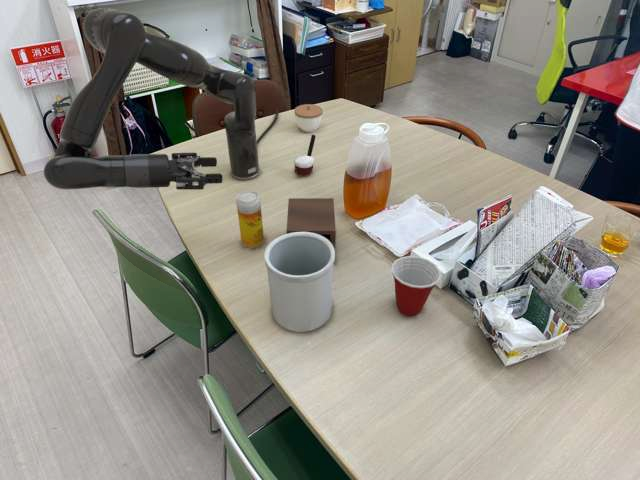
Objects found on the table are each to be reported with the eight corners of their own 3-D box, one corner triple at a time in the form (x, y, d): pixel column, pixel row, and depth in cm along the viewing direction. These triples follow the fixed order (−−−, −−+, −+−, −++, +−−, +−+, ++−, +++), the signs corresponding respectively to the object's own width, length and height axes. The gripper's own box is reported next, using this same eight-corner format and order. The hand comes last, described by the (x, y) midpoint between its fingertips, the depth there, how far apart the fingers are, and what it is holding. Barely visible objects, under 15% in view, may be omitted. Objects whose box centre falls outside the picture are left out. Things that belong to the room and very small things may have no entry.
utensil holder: (257, 304, 108) (251, 247, 97) (309, 278, 115) (308, 222, 104) (292, 345, 99) (289, 288, 88) (346, 314, 106) (349, 257, 95)
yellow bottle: (260, 250, 123) (255, 204, 114) (238, 247, 124) (232, 201, 115) (266, 236, 128) (262, 191, 118) (245, 233, 129) (240, 188, 119)
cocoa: (296, 181, 150) (295, 147, 142) (288, 172, 154) (287, 139, 147) (322, 173, 154) (322, 141, 146) (313, 165, 158) (313, 133, 150)
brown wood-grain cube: (290, 230, 130) (288, 198, 123) (332, 230, 130) (333, 198, 123) (288, 264, 119) (286, 230, 112) (334, 263, 119) (335, 230, 112)
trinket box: (312, 137, 174) (312, 114, 168) (289, 130, 178) (288, 107, 172) (327, 127, 181) (328, 104, 175) (305, 120, 185) (304, 97, 179)
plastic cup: (435, 296, 111) (444, 259, 103) (428, 329, 103) (437, 292, 95) (391, 285, 113) (396, 248, 106) (381, 317, 105) (386, 279, 98)
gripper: (147, 170, 97) (224, 169, 102) (144, 142, 107) (215, 142, 113) (149, 201, 101) (223, 198, 107) (146, 171, 112) (214, 170, 117)
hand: (219, 169), depth 110 cm, fingers open, 8 cm apart
